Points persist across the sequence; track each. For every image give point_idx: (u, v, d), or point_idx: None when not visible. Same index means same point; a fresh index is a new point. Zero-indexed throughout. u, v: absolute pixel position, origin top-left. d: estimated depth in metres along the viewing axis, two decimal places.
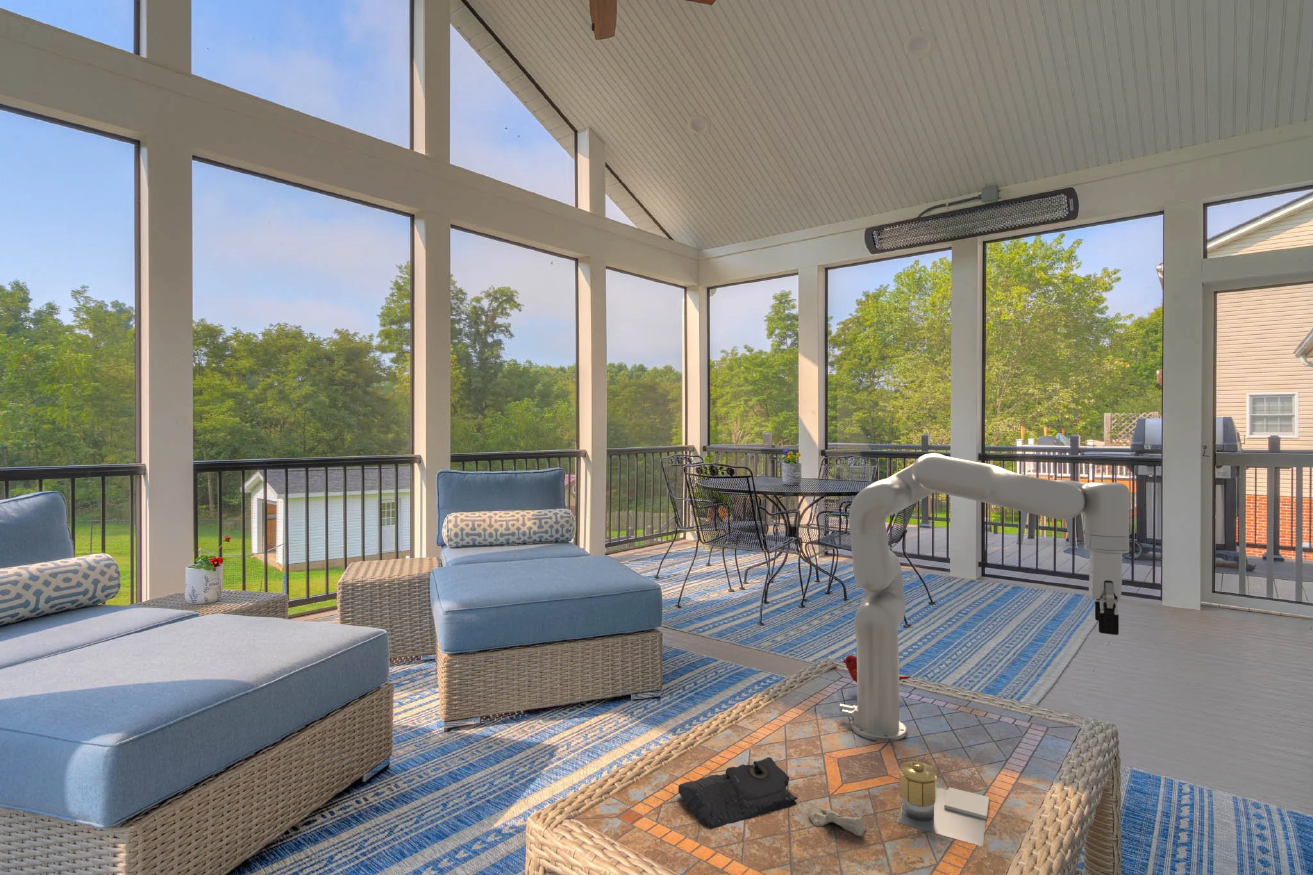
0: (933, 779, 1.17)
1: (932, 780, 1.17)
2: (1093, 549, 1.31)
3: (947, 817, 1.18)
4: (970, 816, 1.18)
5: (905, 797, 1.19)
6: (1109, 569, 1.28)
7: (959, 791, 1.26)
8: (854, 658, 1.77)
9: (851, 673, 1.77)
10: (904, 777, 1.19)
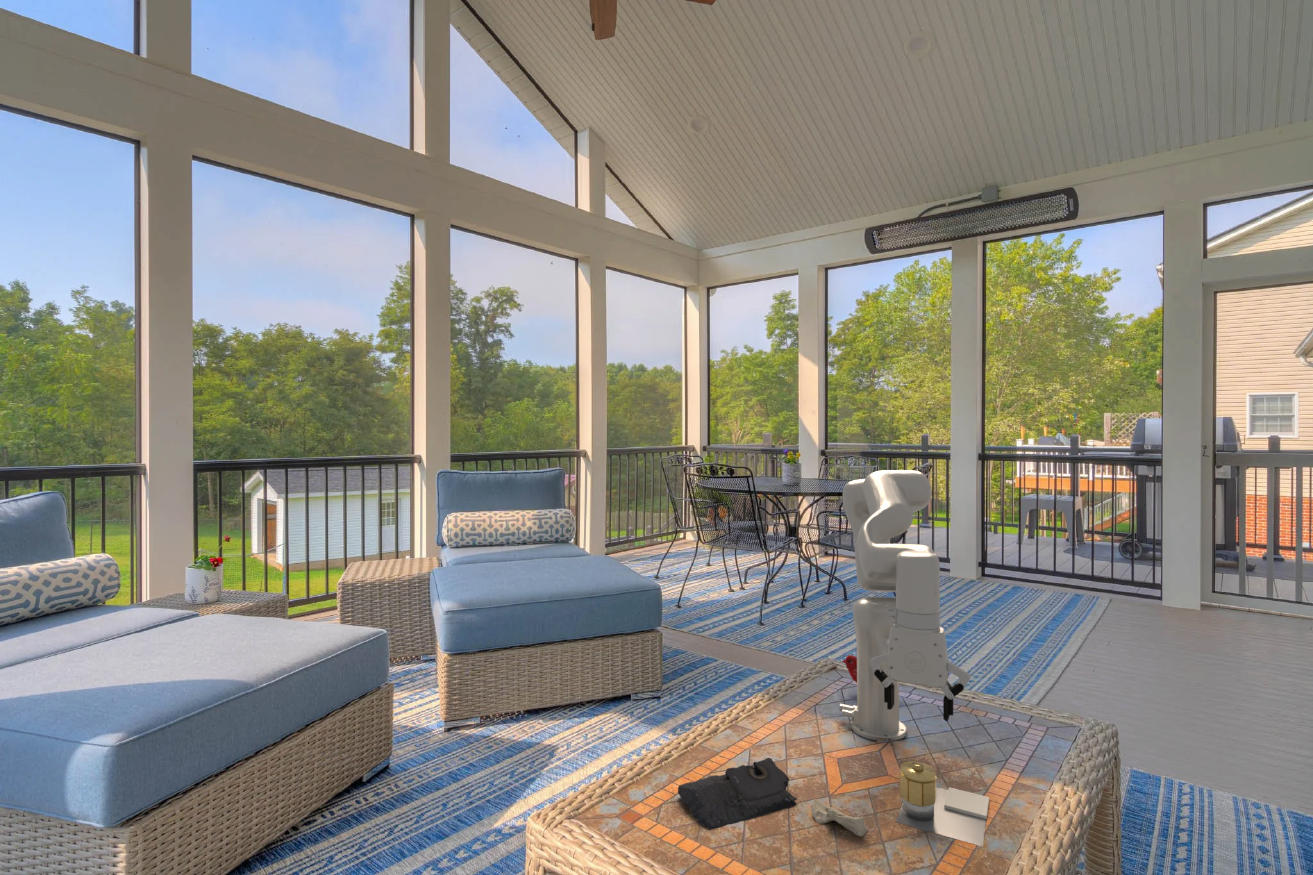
0: (933, 779, 1.17)
1: (932, 780, 1.17)
2: (933, 630, 1.16)
3: (947, 817, 1.18)
4: (970, 816, 1.18)
5: (905, 797, 1.19)
6: (946, 647, 1.17)
7: (959, 791, 1.26)
8: (854, 658, 1.77)
9: (851, 673, 1.77)
10: (904, 777, 1.19)
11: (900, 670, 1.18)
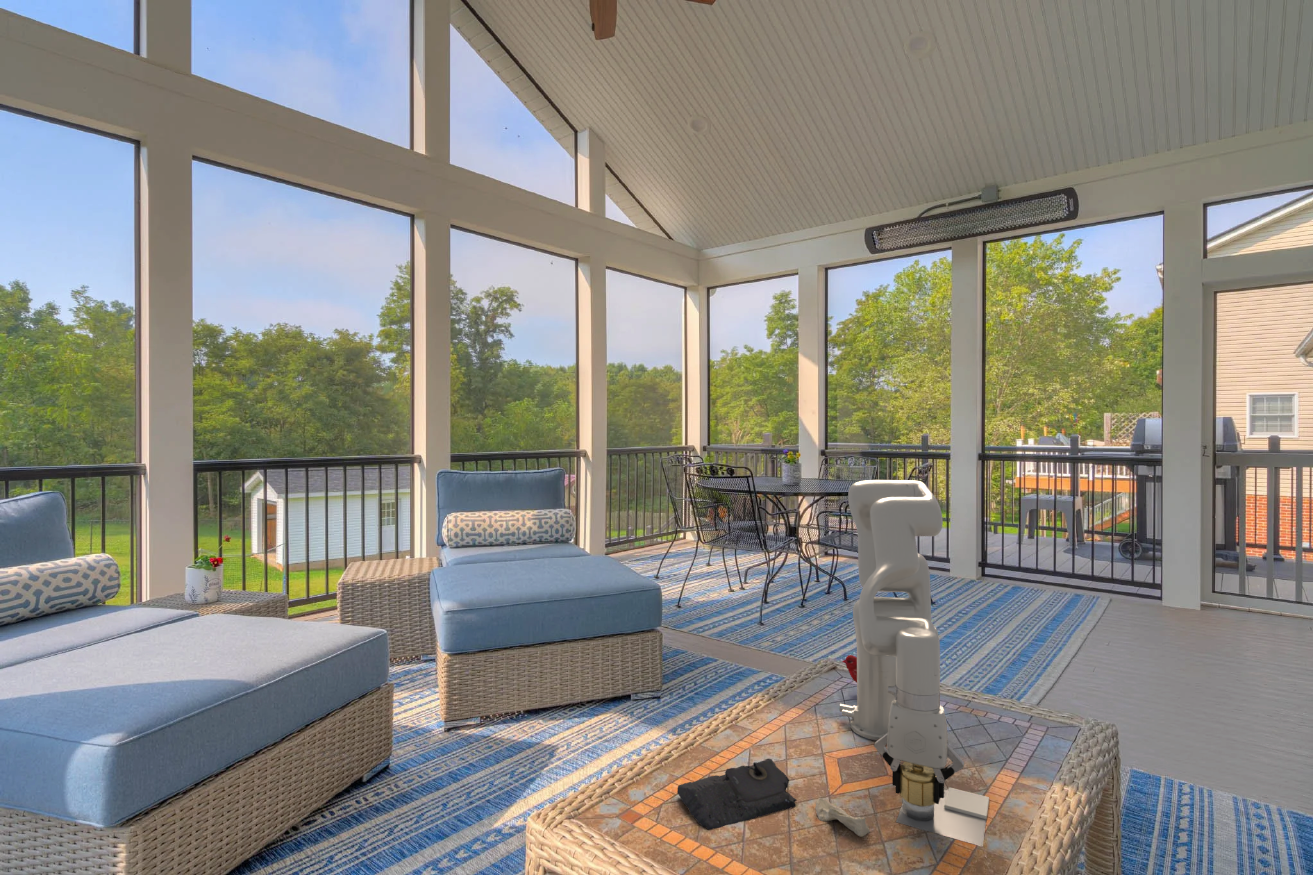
0: (933, 779, 1.17)
1: (932, 780, 1.17)
2: (933, 711, 1.16)
3: (947, 817, 1.18)
4: (970, 816, 1.18)
5: (905, 797, 1.19)
6: (946, 727, 1.17)
7: (959, 791, 1.26)
8: (854, 658, 1.77)
9: (851, 673, 1.77)
10: (904, 777, 1.19)
11: (900, 749, 1.19)
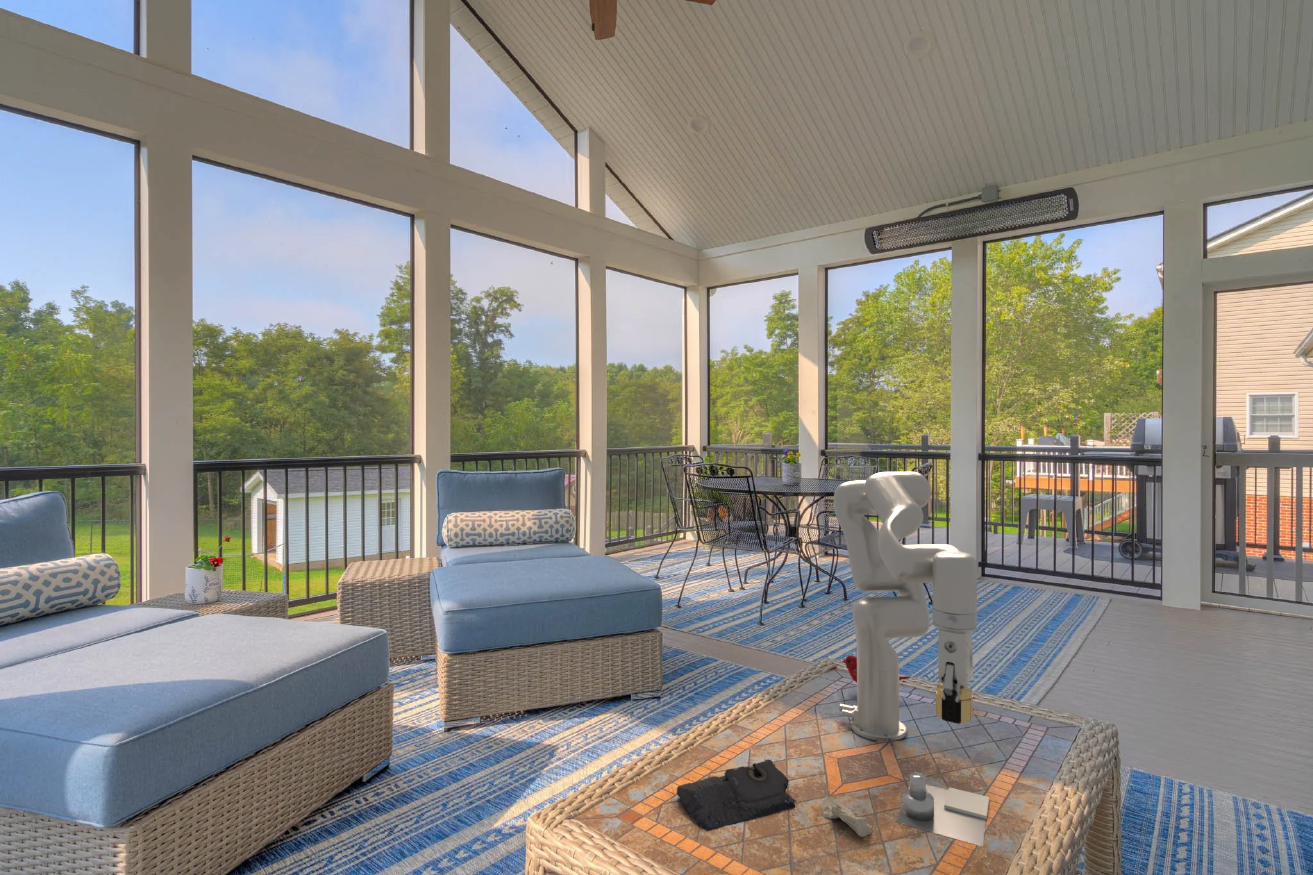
0: None
1: None
2: None
3: (947, 817, 1.18)
4: (970, 816, 1.18)
5: (967, 719, 1.19)
6: None
7: (959, 791, 1.26)
8: (854, 658, 1.77)
9: (851, 673, 1.77)
10: (965, 700, 1.19)
11: (968, 674, 1.18)
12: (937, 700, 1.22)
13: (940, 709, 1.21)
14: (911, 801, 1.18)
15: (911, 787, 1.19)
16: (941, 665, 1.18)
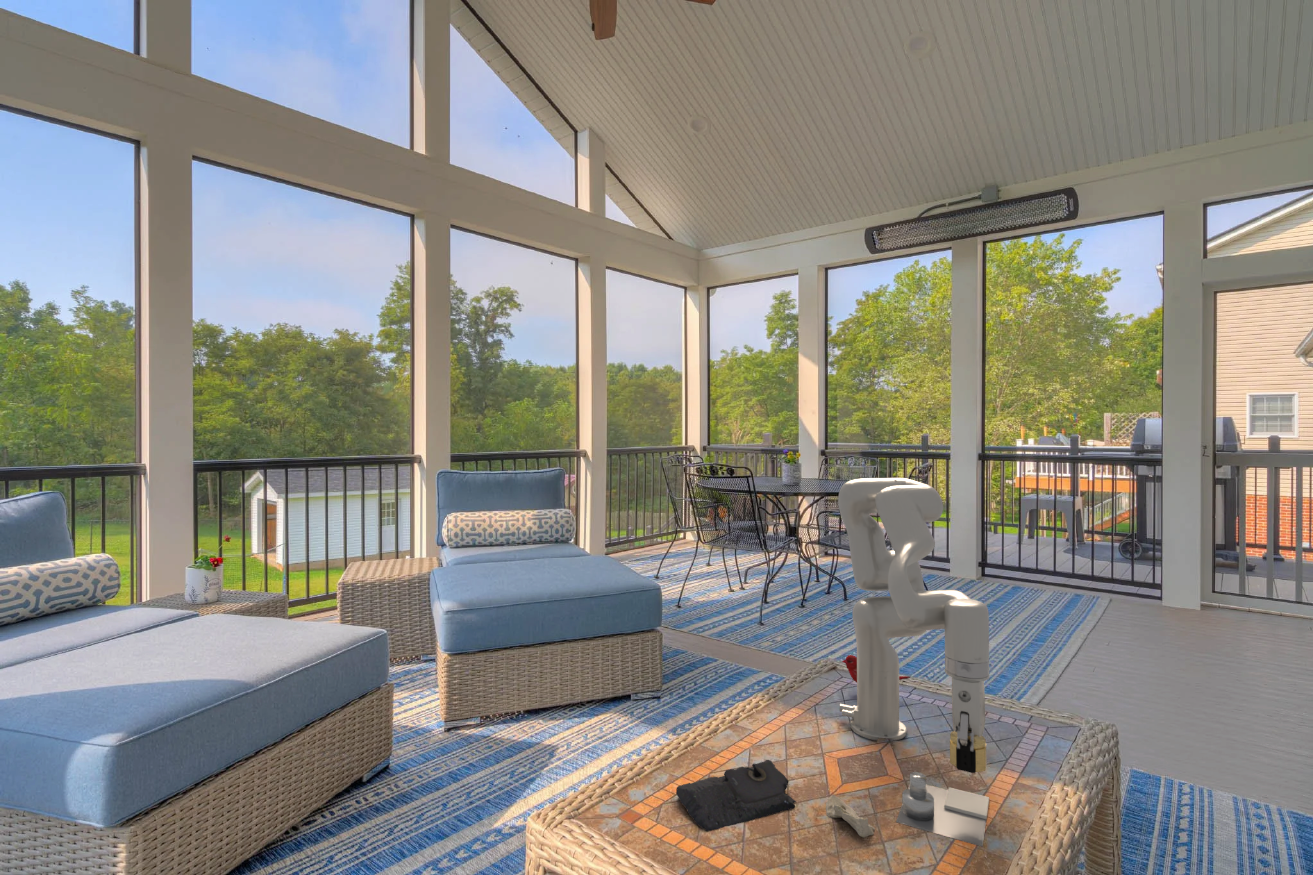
0: None
1: None
2: None
3: (947, 817, 1.18)
4: (970, 816, 1.18)
5: (981, 768, 1.19)
6: None
7: (959, 791, 1.26)
8: (854, 658, 1.77)
9: (851, 673, 1.77)
10: (980, 749, 1.19)
11: (982, 723, 1.18)
12: (951, 748, 1.22)
13: (954, 758, 1.21)
14: (911, 801, 1.18)
15: (911, 787, 1.19)
16: (955, 714, 1.19)
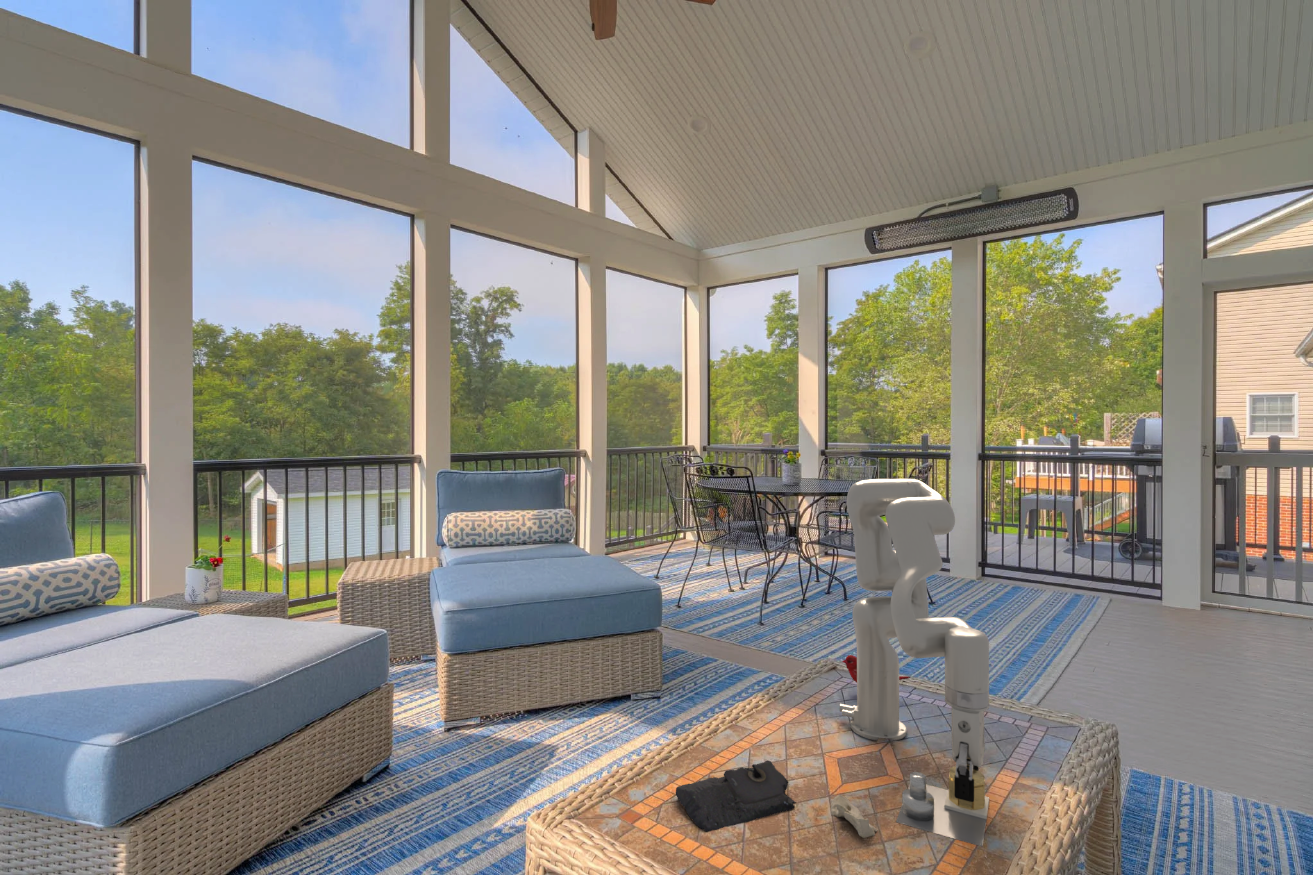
0: None
1: None
2: None
3: (947, 817, 1.18)
4: (970, 816, 1.18)
5: (980, 806, 1.20)
6: None
7: None
8: (854, 658, 1.77)
9: (851, 673, 1.77)
10: (979, 787, 1.20)
11: (982, 753, 1.19)
12: (950, 785, 1.22)
13: (954, 795, 1.22)
14: (911, 801, 1.18)
15: (911, 787, 1.19)
16: (955, 744, 1.19)
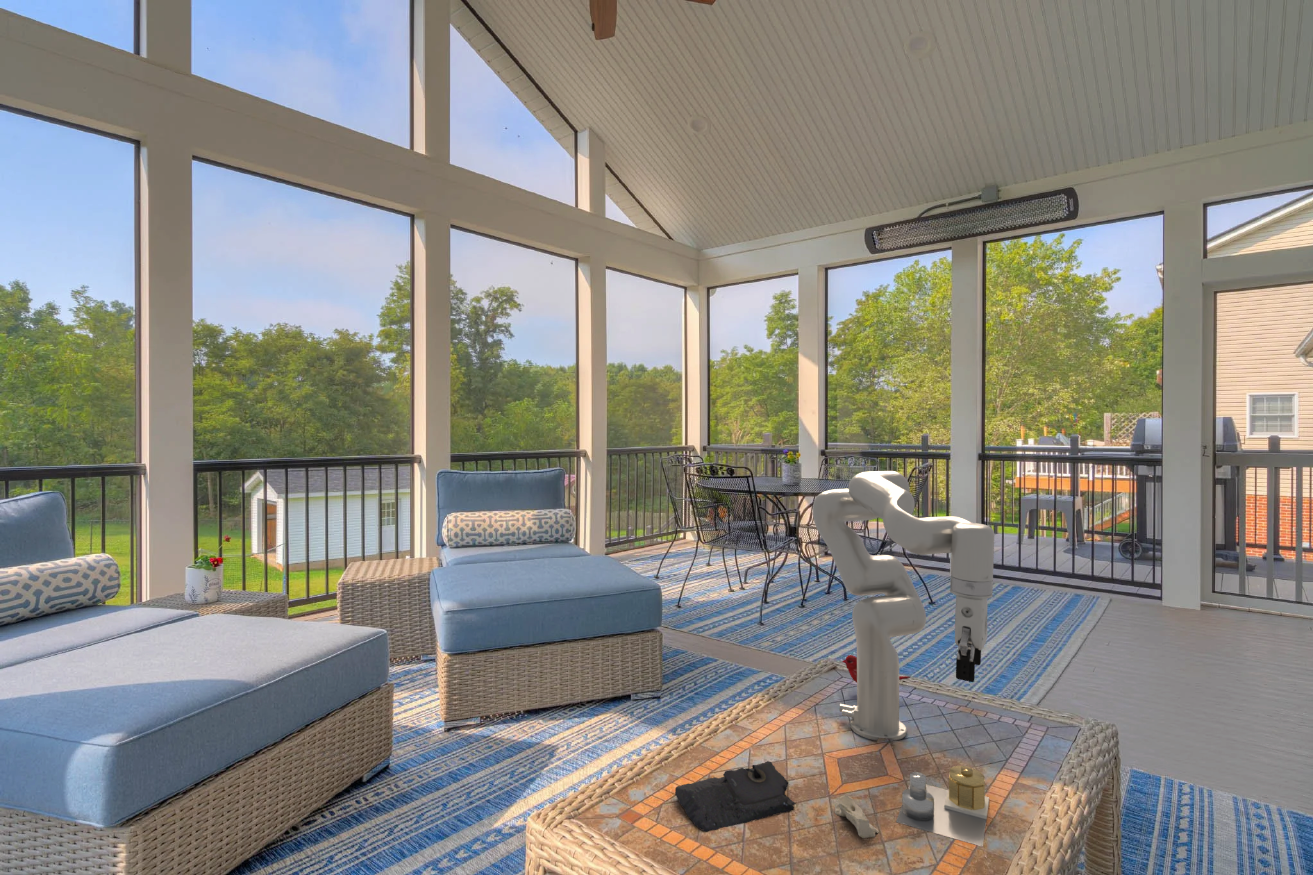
0: None
1: None
2: None
3: (947, 817, 1.18)
4: (970, 816, 1.18)
5: (980, 806, 1.20)
6: None
7: None
8: (854, 658, 1.77)
9: (851, 673, 1.77)
10: (979, 787, 1.20)
11: (984, 637, 1.25)
12: (950, 785, 1.22)
13: (954, 795, 1.22)
14: (911, 801, 1.18)
15: (911, 787, 1.19)
16: (958, 629, 1.25)
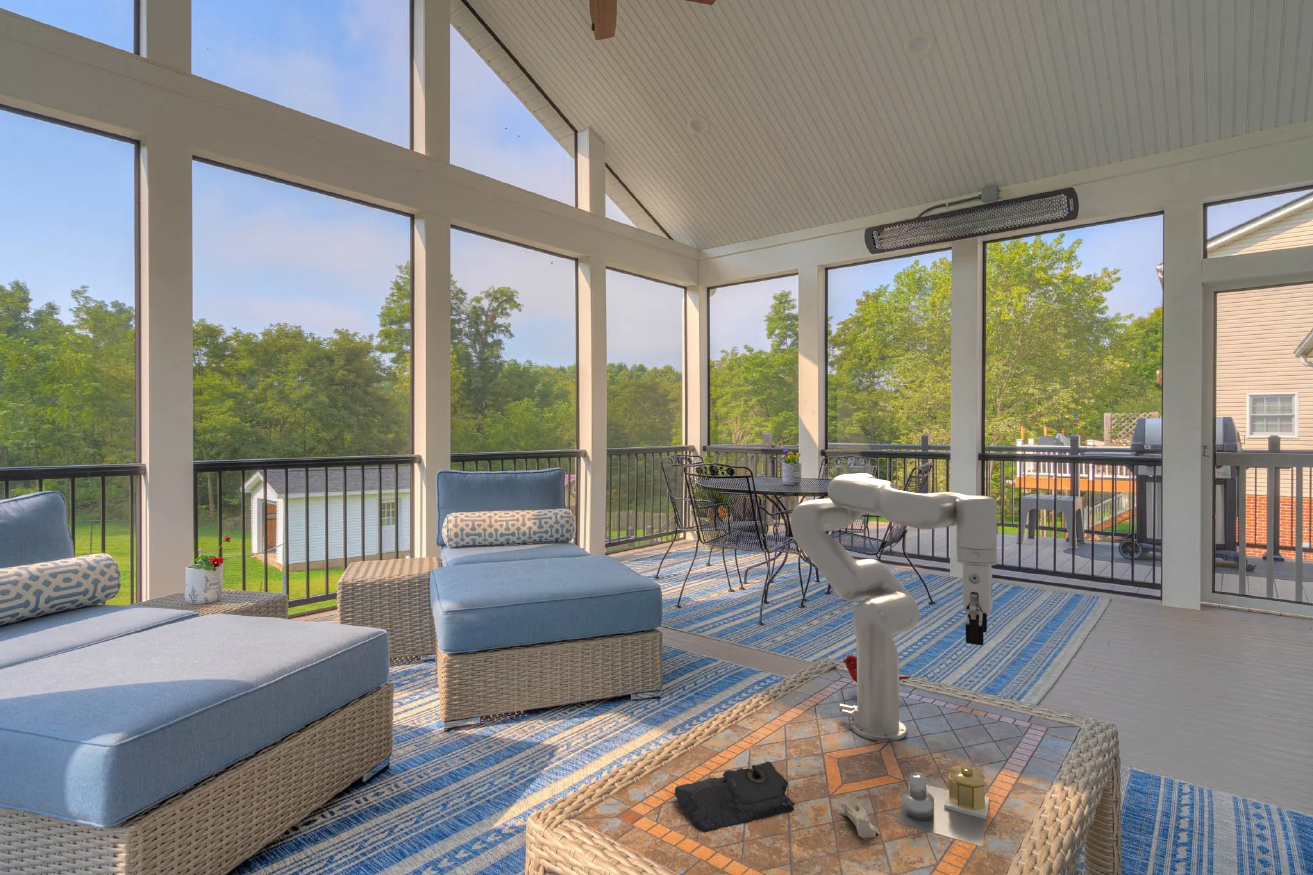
0: None
1: None
2: None
3: (947, 817, 1.18)
4: (970, 816, 1.18)
5: (980, 806, 1.20)
6: None
7: None
8: (854, 658, 1.77)
9: (851, 673, 1.77)
10: (979, 787, 1.20)
11: (990, 603, 1.32)
12: (950, 785, 1.22)
13: (954, 795, 1.22)
14: (911, 801, 1.18)
15: (911, 787, 1.19)
16: (966, 595, 1.32)
